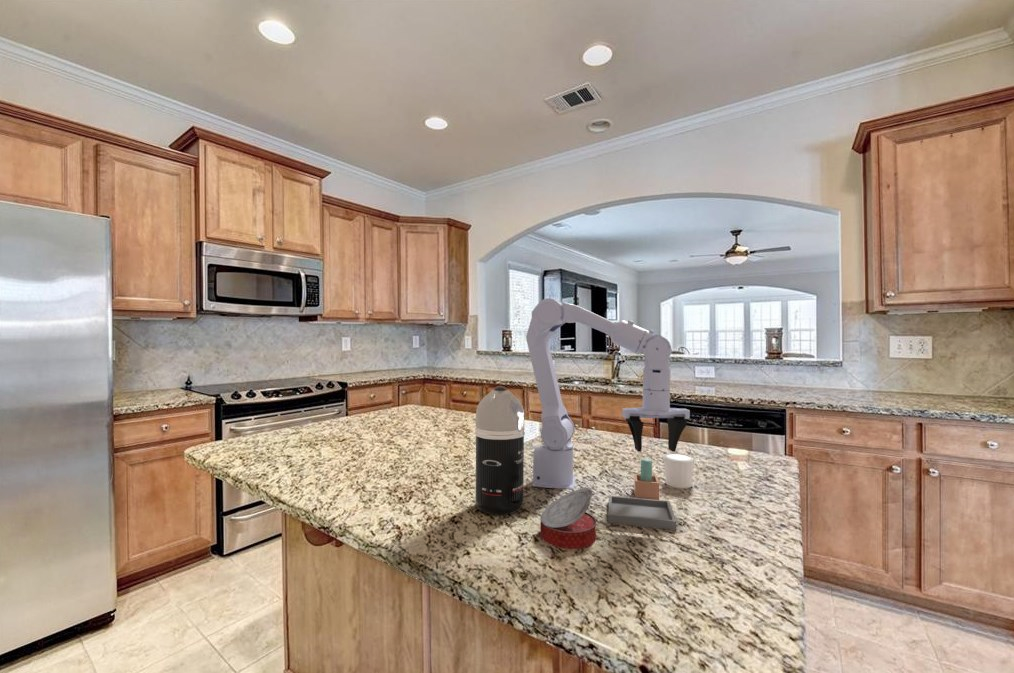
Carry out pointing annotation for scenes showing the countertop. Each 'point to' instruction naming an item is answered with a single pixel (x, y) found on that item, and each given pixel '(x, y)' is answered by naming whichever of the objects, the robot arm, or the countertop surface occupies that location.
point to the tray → (641, 512)
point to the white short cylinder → (678, 470)
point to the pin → (646, 470)
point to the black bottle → (499, 453)
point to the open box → (646, 487)
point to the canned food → (569, 521)
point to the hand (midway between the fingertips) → (655, 450)
